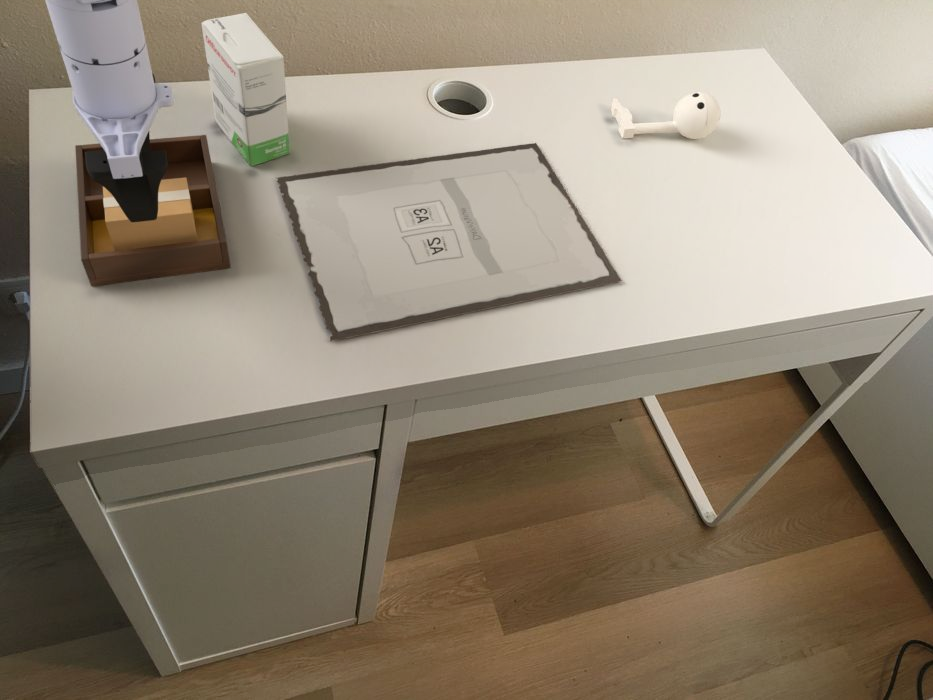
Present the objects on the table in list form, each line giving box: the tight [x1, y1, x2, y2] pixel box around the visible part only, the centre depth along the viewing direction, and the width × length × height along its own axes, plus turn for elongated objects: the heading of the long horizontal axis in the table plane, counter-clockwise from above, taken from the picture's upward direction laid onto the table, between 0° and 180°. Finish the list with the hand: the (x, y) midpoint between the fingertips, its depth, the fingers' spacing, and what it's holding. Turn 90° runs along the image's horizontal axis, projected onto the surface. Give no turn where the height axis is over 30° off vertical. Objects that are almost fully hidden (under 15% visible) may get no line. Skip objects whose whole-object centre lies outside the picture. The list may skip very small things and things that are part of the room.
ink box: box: [201, 12, 291, 167], centre depth 77 cm, size 9×5×12 cm, turn 35°
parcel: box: [103, 178, 198, 251], centre depth 69 cm, size 7×5×5 cm, turn 108°
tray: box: [74, 134, 232, 287], centre depth 72 cm, size 12×15×4 cm
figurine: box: [610, 91, 721, 140], centre depth 92 cm, size 8×6×12 cm
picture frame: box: [276, 142, 622, 342], centre depth 78 cm, size 22×1×30 cm
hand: (139, 186), depth 65 cm, fingers open, 7 cm apart
